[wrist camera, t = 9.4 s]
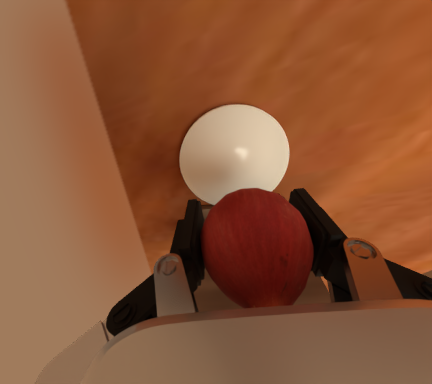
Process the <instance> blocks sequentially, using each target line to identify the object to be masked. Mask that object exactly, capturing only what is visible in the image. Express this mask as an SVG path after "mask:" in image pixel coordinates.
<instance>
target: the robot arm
mask: <svg viewBox="0 0 432 384" xmlns="http://www.w3.org/2000/svg"><path fill="white" fill-rule="evenodd" d="M289 203H290V204H291V205H292V206H294V207H295V208H296V209H297V210H298V211H300V213H301V215H302V216H303V218H304V220H305V221H306V224H307V227H308V230H309V233H310V236H311V239H312V243H313V254H314V257H313V263H312V268H311V271H313V273H314V275H315V277H321V276H324V278H325V279H326V280H327V282H328V287H329V293H330V299H331V303H319V304H304V305H289V306H274V307H260V308H246V309H232V310H219V311H205V312H199V310H198V306H197V303H196V299H195V295H194V292H195V291H196V290H197V289H198V286H201V280H204V277H205V265H204V261H203V258H202V251H201V238H200V233H201V230H202V227H203V224H204V217H203V212H202V207H201V202H200V201H197V199H193V200H188V204H187V209H186V214H185V219H184V220H178V222H177V226H176V230H175V234H174V238H173V242H172V246H171V250H170V254H166V255H164V256H162V257H161V258H160V259H158V261H157V262H156V264H155V266H154V273H153V274H152V275H151V276H150V277H148V278H147V279H146V280H145V281H144V282H143V283H141V284H140V285H139V286H137V287H136V288H135V289H134V290H133V291H131V292H130V293H129V294H128V295H126V296H125V297H124V298H123V299H122V300H120V301H119V302H118V303H117V304H116V305H115V306H114V307H113V308H112V309H111V311H110V312H109V315H108V317H107V319H105V320H104V321H103V322H101V321H99V322H98V323H97V324H96V325H94V326H93V327H92V328H91V329H89V330H88V331H87V332H86V333H85V334H83V335H82V336H81V337H79V338H78V339H77V340H76V341H75V342H73V343H72V344H71V345H69V346H68V347H67V348H66V349H64V350H63V351H62V352H61V353H59V354H58V355H57V356H56V357H55V358H53V359H52V360H51V361H50V362H49V363H48V364H47V365H46V366H45V368H44V369H43V370H42V372H41V373H40V374H39V376H38V378H37V381H36V383H35V384H432V278H429V277H427V276H424V275H422V274H420V273H417V272H415V271H413V270H410V269H408V268H405V267H403V266H401V265H398V264H396V263H394V262H391V261H389V260H386V259H384V258H383V257H382V255H381V253H380V251H379V250H378V248H376V247H375V246H374V245H373V244H371V243H370V242H368V241H366V240H363V239H359V238H347V236H346V235H345V234H344V233H343V232H342V231H341V229H340V228H339V227H338V226H337V225H336V224H335V223H334V221H333V220H332V219H331V218H330V217H329V216H328V214H327V213H326V212H325V211H324V210H323V209H322V208H321V207H320V206H319V205H318V204H317V203H316V202H315V201H314V199H313V198H312V197H311V196H310V195H309V194H308V192H307V191H306V190H305V189H304V188H300V189H294V190H293V191H292V192H291V193H290V199H289Z"/></svg>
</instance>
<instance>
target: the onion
mask: <svg viewBox="0 0 432 384" xmlns="http://www.w3.org/2000/svg"><path fill="white" fill-rule="evenodd" d="M200 238H201V251H202V258H203V261H204V265H205V268H206V270H207V272H208V274H209V276H210V278H211V279H212V280H213V281H214V283H215V284H216V285H217V287H218V288H219V289H220V290H221V291H222V292H223V293H224V295H226V296H227V297H228V298H229V299H230V300H231V301H233V302H234V303H236V304H237V305H239V306H241V307H242V308H244V309H246V308H260V307H274V306H289V305H293V304H294V303H295V301H296V300H297V299H298V297H299V296H300V295H301V293H302V292H303V290H304V289H305V287H306V284H307V281H308V277H309V274H310V271H311V268H312V263H313V257H314V254H313V243H312V239H311V236H310V233H309V230H308V227H307V224H306V221H305V220H304V218H303V216H302V215H301V213H300V211H298V210H297V209H296V208H295V207H294V206H292V205H291V204H290V203H289V202H288V201H287V200H286V199H284V198H283V197H282V196H281V195H280V194H278V193H274V192H270V191H266V190H263V189H260V188H244V189H239V190H236V191H234V192H231V193H229V194H226V195H225V196H224V197H223V198H222V199H221V200H220V201H219V202H218V203H216V204H215V205H214V207H213V208H212V209H211V210H210V211H209V213H208V215H207V217H206V219H205V221H204V224H203V227H202V230H201V233H200Z"/></svg>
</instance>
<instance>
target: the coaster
mask: <svg viewBox="0 0 432 384" xmlns="http://www.w3.org/2000/svg"><path fill="white" fill-rule="evenodd" d="M179 160H180V169H181V173H182V176H183V179H184V181H185V183H186V184H187V186H188V187H189V189H190V190H191V191H192V192H193V193H194V194H195V195H196V196H197V197H199V198H200V199H202V200H203V201H205V202H207V203H210V204H212V205H215V204H216V203H218V202H219V201H220V200H221V199H222V198H223V197H224V196H225V195H226V194H229V193H231V192H234V191H236V190H239V189H244V188H260V189H263V190H266V191H270V192H272V191H273V190H274V189H275V188H276V186H277V185H278V184H279V183H280V181H281V180H282V178H283V176H284V174H285V172H286V169H287V166H288V161H289V144H288V140H287V137H286V135H285V132H284V130H283V129H282V127H281V126H280V124H279V123H278V122H277V121H276V120H275V119H274V118H273V117H272V116H270V115H269V114H267V113H266V112H264V111H263V110H261V109H259V108H256V107H254V106H250V105H246V104H227V105H223V106H219V107H217V108H214V109H212V110H210V111H208V112H206V113H205V114H204V115H202V116H201V117H200V118H199V119H197V120H196V121H195V122H194V124H193V125H192V126H191V127H190V129H189V131H188V132H187V134H186V136H185V138H184V141H183V143H182V146H181V150H180V158H179Z"/></svg>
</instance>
